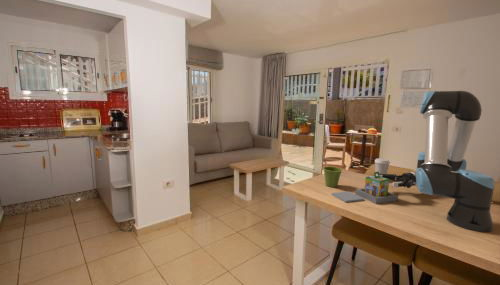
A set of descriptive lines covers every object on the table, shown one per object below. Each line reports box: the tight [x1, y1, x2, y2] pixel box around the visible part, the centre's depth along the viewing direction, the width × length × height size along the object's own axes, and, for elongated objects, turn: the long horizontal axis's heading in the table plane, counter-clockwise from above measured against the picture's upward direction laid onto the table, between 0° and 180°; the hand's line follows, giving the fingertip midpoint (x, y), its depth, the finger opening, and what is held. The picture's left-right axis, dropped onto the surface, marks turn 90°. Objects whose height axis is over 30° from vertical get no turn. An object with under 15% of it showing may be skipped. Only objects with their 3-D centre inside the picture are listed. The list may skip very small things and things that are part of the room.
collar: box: [354, 187, 399, 205], centre depth 136 cm, size 15×15×3 cm
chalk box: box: [364, 171, 390, 197], centre depth 135 cm, size 9×9×15 cm
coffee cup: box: [374, 157, 391, 175], centre depth 168 cm, size 10×10×15 cm
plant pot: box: [322, 166, 343, 188], centre depth 154 cm, size 12×12×11 cm
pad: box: [331, 191, 365, 203], centre depth 135 cm, size 12×12×1 cm
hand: (382, 181), depth 136 cm, fingers open, 13 cm apart
